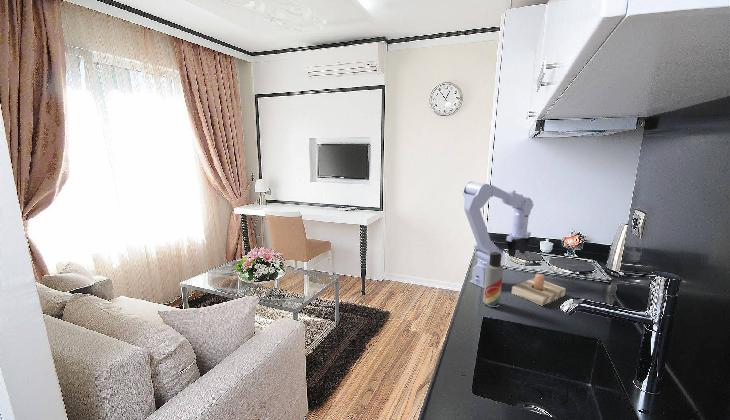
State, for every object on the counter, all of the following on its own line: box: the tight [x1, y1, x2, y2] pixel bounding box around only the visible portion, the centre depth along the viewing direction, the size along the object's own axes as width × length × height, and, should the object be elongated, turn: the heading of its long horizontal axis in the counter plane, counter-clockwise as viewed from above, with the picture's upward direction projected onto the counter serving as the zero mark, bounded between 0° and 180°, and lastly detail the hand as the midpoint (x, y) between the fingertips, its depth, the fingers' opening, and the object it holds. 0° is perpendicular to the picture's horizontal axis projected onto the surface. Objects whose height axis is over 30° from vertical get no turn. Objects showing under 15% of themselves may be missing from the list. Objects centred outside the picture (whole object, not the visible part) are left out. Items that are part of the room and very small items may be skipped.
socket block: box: [511, 277, 567, 307], centre depth 122 cm, size 16×12×3 cm
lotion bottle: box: [482, 252, 504, 306], centre depth 113 cm, size 6×6×20 cm
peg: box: [534, 273, 546, 291], centre depth 121 cm, size 3×3×8 cm
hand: (516, 254), depth 137 cm, fingers open, 7 cm apart
